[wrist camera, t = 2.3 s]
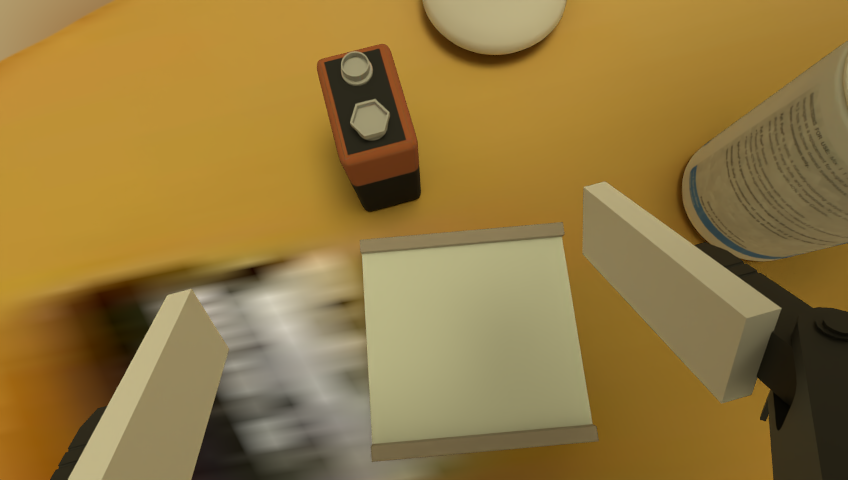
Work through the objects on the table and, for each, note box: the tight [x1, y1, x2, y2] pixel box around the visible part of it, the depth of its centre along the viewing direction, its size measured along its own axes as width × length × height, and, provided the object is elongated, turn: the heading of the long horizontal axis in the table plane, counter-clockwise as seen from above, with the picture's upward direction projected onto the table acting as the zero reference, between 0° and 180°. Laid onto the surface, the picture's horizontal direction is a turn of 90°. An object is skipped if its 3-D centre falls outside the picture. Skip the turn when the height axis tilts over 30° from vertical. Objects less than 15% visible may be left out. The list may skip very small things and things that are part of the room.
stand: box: [360, 222, 599, 462], centre depth 28 cm, size 13×13×4 cm
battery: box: [317, 44, 421, 211], centre depth 27 cm, size 4×7×10 cm, turn 16°
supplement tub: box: [682, 41, 848, 261], centre depth 24 cm, size 10×10×15 cm
